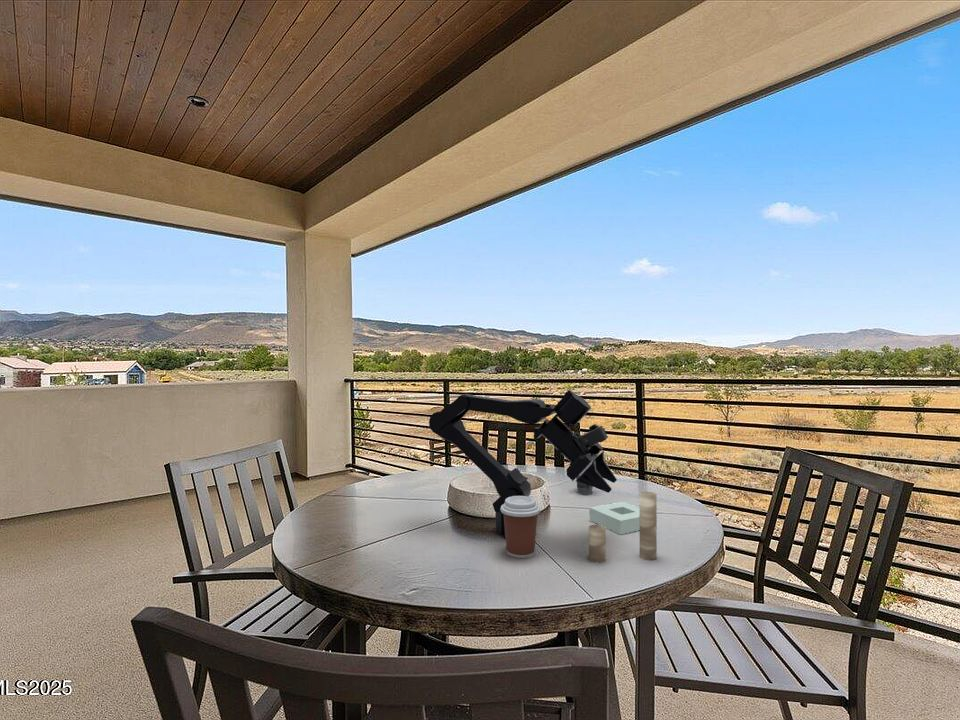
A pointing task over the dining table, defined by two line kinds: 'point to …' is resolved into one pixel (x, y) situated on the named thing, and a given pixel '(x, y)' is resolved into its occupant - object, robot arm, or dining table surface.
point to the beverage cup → (583, 487)
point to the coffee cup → (520, 525)
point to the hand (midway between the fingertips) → (613, 486)
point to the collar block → (617, 517)
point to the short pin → (597, 543)
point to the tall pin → (648, 525)
